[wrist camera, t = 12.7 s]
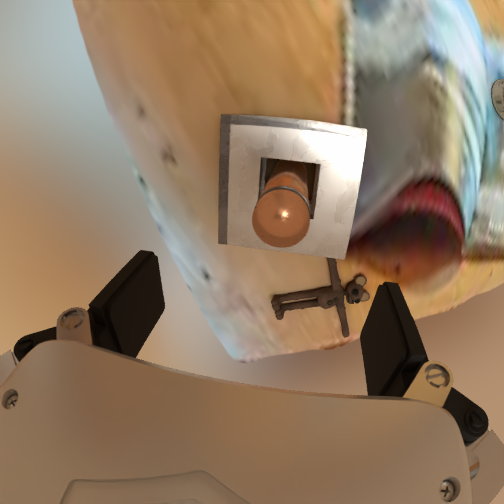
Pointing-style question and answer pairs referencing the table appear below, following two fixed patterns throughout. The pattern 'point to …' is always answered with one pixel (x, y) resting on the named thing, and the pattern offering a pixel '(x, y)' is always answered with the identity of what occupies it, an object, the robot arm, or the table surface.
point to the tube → (283, 206)
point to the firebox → (297, 149)
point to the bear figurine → (325, 297)
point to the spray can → (498, 96)
